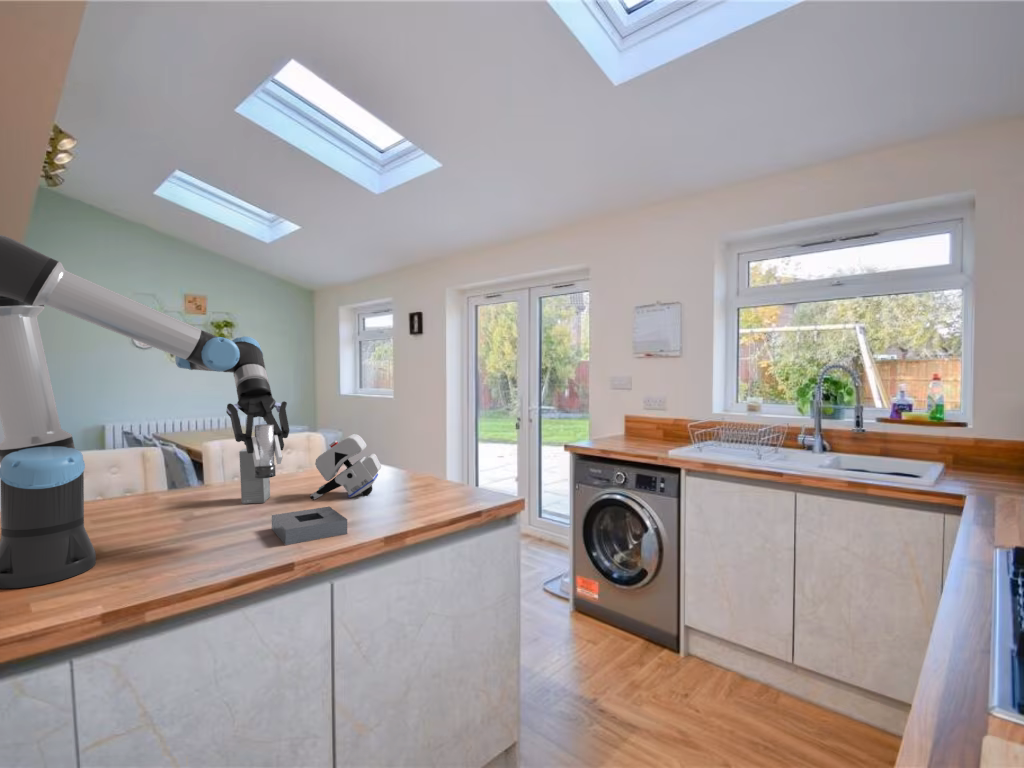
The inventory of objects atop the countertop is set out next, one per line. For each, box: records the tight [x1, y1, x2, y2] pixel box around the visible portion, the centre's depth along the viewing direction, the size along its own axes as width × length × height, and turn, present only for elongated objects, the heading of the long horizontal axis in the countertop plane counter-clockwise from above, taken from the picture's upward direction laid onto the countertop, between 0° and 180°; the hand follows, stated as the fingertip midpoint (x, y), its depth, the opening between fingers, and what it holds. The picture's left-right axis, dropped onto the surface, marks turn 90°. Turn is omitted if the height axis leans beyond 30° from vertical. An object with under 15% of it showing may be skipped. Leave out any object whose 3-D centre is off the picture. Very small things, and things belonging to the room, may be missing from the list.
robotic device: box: [309, 433, 382, 501], centre depth 159 cm, size 10×21×20 cm
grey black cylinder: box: [254, 423, 276, 479], centre depth 118 cm, size 4×4×12 cm
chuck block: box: [271, 506, 348, 546], centre depth 123 cm, size 14×14×4 cm
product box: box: [238, 448, 271, 504], centre depth 151 cm, size 8×7×16 cm
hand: (268, 461), depth 115 cm, fingers closed on grey black cylinder, 4 cm apart
